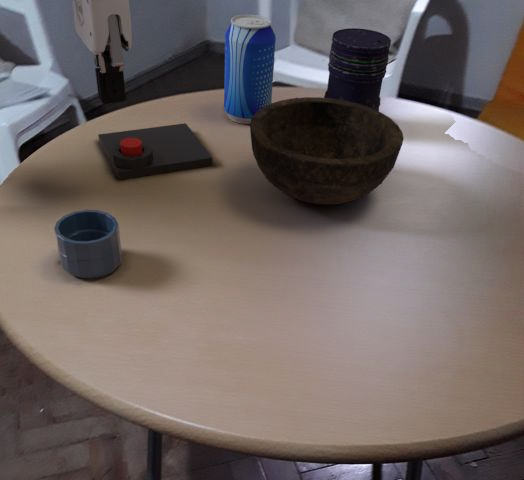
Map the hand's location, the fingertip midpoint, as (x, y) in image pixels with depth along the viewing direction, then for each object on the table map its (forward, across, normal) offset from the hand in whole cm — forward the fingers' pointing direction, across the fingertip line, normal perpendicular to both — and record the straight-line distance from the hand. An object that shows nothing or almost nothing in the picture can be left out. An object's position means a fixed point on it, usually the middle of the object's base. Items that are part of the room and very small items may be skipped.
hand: (112, 100), depth 83 cm
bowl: (+14, +10, +28) cm, 32 cm away
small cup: (+14, +16, -8) cm, 22 cm away
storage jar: (+14, -9, +44) cm, 47 cm away
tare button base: (+14, -10, +8) cm, 19 cm away
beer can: (+14, -18, +29) cm, 37 cm away
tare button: (+11, -7, +4) cm, 13 cm away
